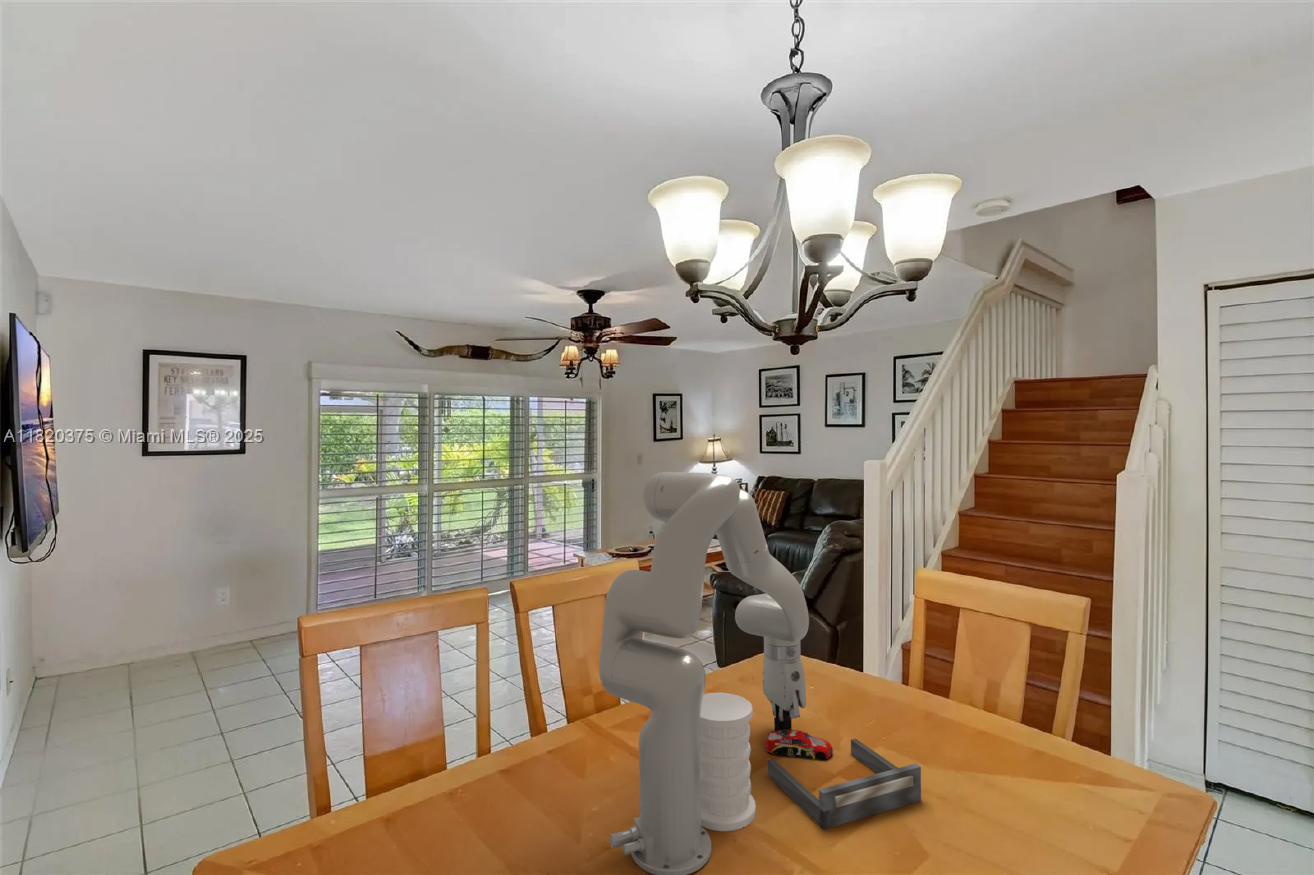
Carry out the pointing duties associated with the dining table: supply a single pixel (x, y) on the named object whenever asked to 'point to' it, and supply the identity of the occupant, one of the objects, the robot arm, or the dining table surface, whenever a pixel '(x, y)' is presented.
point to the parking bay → (854, 790)
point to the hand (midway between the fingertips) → (783, 736)
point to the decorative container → (725, 762)
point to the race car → (798, 745)
